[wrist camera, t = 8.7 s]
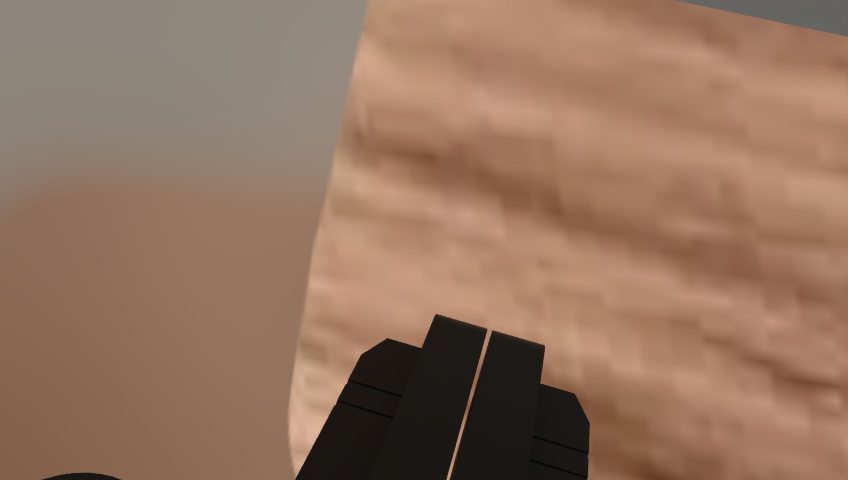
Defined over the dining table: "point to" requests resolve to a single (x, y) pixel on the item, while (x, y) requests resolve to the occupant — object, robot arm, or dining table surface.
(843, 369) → the dining table surface
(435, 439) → the robot arm
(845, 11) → the hole board
